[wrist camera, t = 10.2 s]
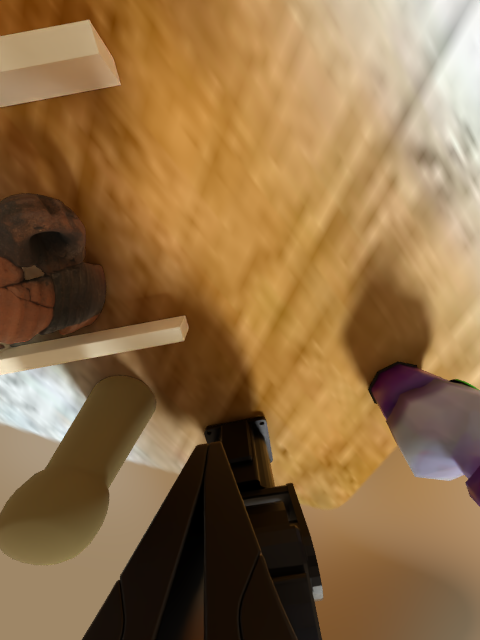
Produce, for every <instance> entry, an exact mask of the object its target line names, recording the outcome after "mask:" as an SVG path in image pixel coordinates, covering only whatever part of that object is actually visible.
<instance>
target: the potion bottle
mask: <svg viewBox="0 0 480 640" xmlns="http://www.w3.org/2000/svg"><path fill="white" fill-rule="evenodd" d="M368 390H369V392H370V394H371V396H372V399H373V401H374V403H376V404H378V406H379V407H380V409H381V411H382V413H383V415H384V416H385V418H386V422H387V424H388V426H389V428H390V431H391V433H392V435H393V437H394V439H395V441H396V443H397V445H398V446H399V448H400V450H401V452H402V454H403V456H404V457H405V459H406V461H407V463H408V465H409V466H410V468H411V470H412V472H413V474H414V476H415V477H421V478H430V479H439V480H448V481H450V480H453V479H455V478H458V477H460V476H462V475H465V476H466V477H467V478H468V481H466V486H467V489H468V492H469V494H470V497H471V498H472V499H473V500H474V501H475V502H476V503H477V504H478V505H479V506H480V390H478V389H477V388H476V387H474V386H473V385H471V384H469V383H467V382H464V381H461V380H459V379H453V380H450V381H448V380H445V379H443V378H441V377H438V376H436V375H433V374H431V373H428V372H426V371H424V370H421V369H419V368H417V365H413V364H408V363H402V362H396V363H394V364H392V365H390V366H388V367H386V368H384V369H382V370H380V371H378V372H377V374H376V375H375V377H374V379H373V381H372V383H371V385H370V387H369V389H368Z"/></svg>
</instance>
